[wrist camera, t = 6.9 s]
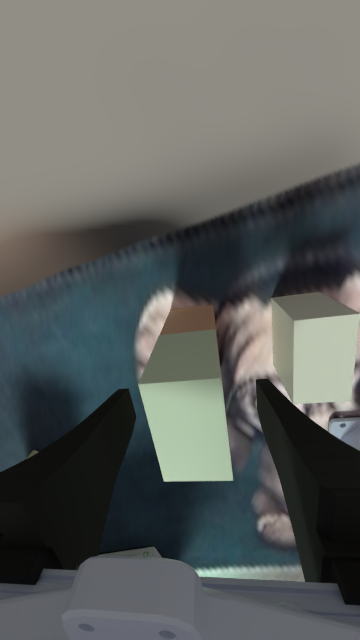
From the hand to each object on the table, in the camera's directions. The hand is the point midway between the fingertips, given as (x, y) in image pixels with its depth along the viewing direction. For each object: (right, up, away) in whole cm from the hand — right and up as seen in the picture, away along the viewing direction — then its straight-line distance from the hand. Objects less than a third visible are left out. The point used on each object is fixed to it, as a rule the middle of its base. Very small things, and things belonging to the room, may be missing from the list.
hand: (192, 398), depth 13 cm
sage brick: (0, +1, +2) cm, 2 cm away
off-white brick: (+9, +4, +6) cm, 11 cm away
